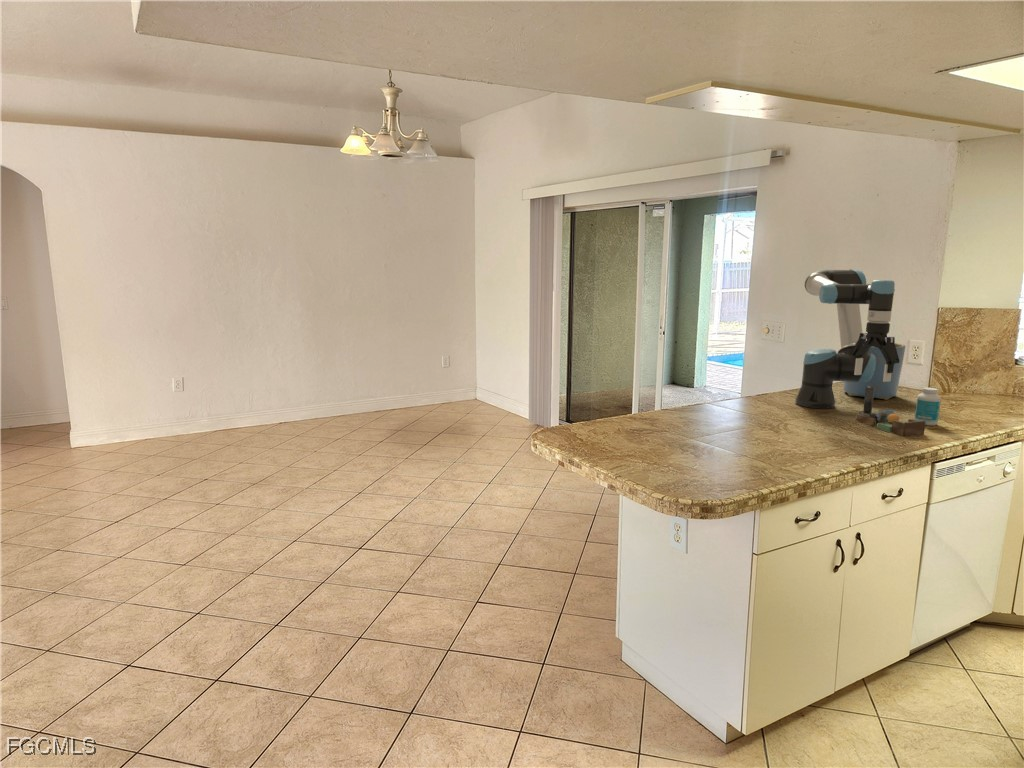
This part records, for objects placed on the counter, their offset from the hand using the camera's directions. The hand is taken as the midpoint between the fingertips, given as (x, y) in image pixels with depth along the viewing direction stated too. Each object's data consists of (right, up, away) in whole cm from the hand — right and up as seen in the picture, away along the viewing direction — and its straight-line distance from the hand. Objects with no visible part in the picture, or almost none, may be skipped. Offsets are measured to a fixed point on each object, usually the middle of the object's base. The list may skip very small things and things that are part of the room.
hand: (871, 378), depth 236 cm
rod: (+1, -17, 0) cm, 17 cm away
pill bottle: (+20, -17, -1) cm, 26 cm away
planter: (+26, -7, +46) cm, 54 cm away
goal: (+5, -20, -14) cm, 25 cm away
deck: (+3, -19, -8) cm, 21 cm away
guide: (+1, -17, +1) cm, 17 cm away
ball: (+3, -15, -8) cm, 17 cm away
